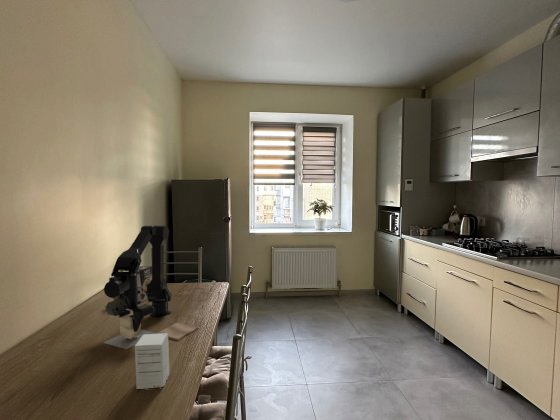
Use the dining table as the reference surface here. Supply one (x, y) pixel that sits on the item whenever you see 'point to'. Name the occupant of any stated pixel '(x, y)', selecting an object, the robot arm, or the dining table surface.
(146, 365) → the supplement box
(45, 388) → the dining table surface
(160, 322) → the dining table surface
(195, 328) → the walnut board
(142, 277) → the coffee box
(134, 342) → the slate gray tile
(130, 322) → the maple block
